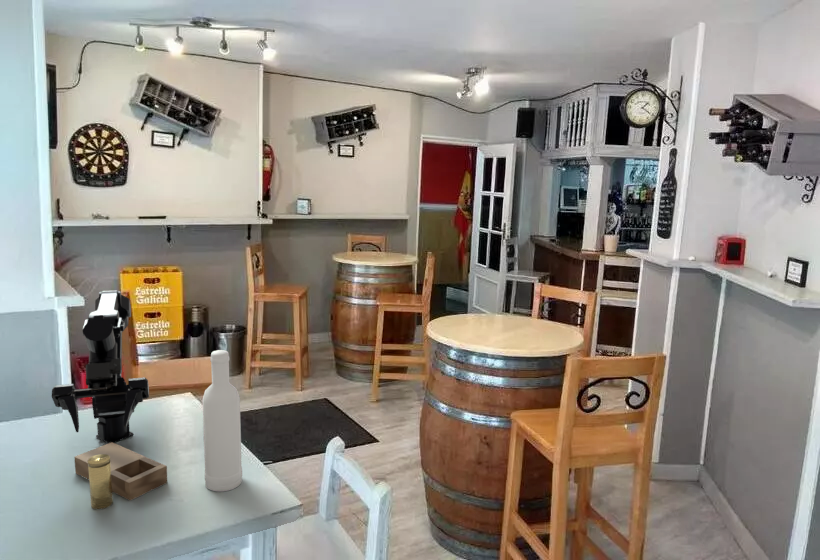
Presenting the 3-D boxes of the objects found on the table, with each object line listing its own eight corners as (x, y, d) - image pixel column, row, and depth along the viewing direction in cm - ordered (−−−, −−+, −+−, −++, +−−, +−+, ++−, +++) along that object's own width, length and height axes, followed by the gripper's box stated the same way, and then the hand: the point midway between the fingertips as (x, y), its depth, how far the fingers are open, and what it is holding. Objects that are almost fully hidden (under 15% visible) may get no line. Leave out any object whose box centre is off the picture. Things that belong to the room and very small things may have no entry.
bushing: (105, 496, 132) (102, 452, 130) (117, 502, 130) (114, 457, 128) (86, 505, 128) (83, 459, 126) (98, 511, 126) (95, 465, 124)
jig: (112, 457, 148) (111, 442, 148) (167, 482, 138) (166, 465, 137) (75, 473, 141) (74, 456, 140) (130, 500, 131) (129, 482, 130)
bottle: (208, 495, 133) (203, 359, 128) (201, 478, 140) (196, 349, 135) (246, 487, 137) (243, 355, 131) (238, 471, 144) (234, 345, 138)
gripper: (49, 349, 132) (44, 419, 124) (145, 342, 138) (146, 408, 130) (58, 373, 141) (54, 440, 133) (148, 365, 147) (149, 429, 139)
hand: (101, 428), depth 133 cm, fingers open, 9 cm apart
